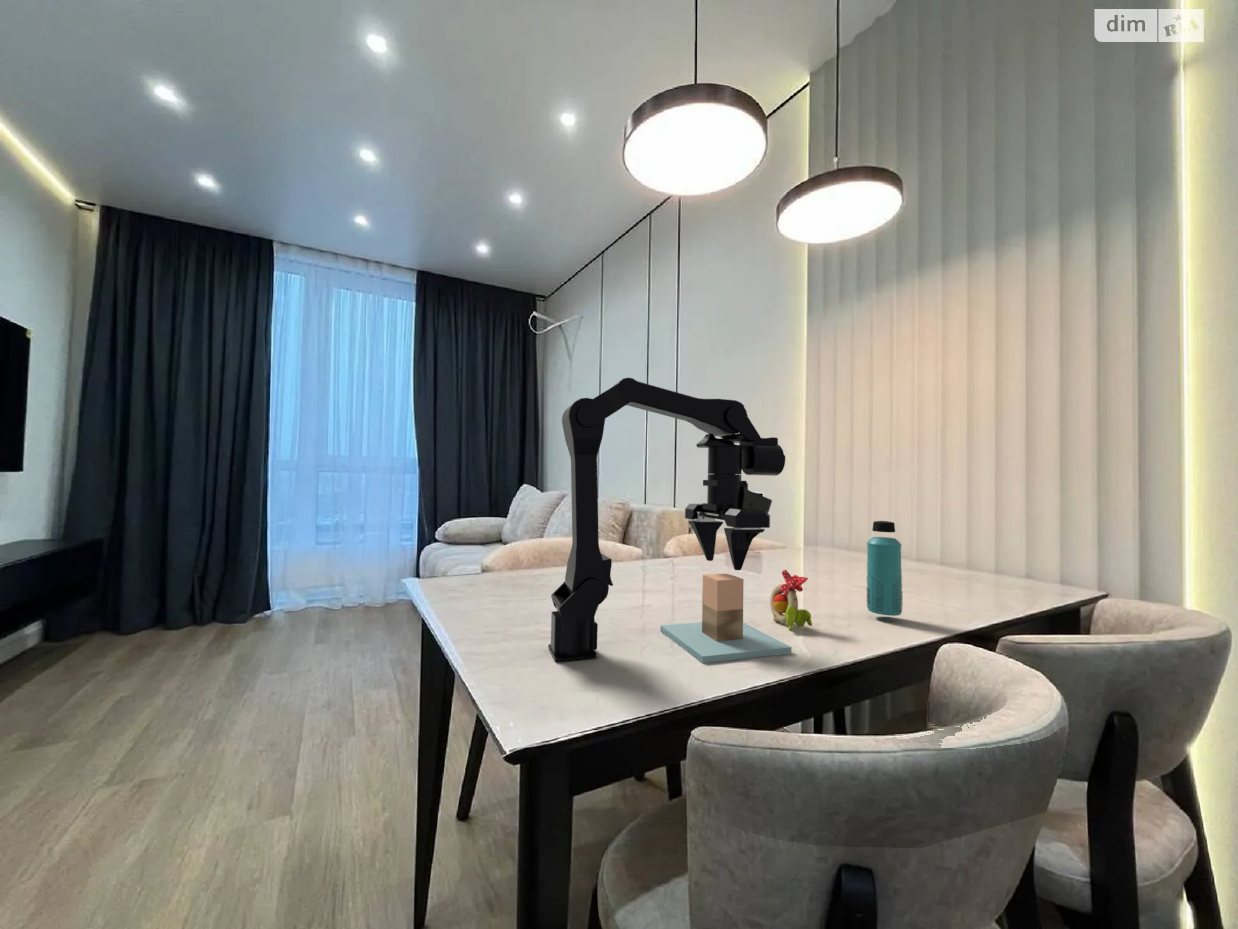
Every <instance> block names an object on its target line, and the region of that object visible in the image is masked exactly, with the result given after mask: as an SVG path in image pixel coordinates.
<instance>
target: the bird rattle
mask: <svg viewBox="0 0 1238 929" xmlns="http://www.w3.org/2000/svg"><path fill="white" fill-rule="evenodd" d="M781 575H782V576H783V579H784V581H785V583H783V584H782V583H780V584H778V585H776V586H775V587H774V588H773V589H772V591H771V594H770V598H769V603H770V604H769V605H770V610H771V613H772V615H773V616H772V617H773V622H774V623H786V626H787V627H788V631H792V629H793V626H794V625H796V627H798V628H802V627H805V624H806V623H807V625H808V626H809V627H812V626H813V622H812V614H811V612H810V611H809V610H807V609H803V608H802V609H801V608H799V600H798V595H797V592H803V590H804V588H803V587H802V585H803V584H805V583H806V581H808V579H809V578H808V577H805V576H799V575H797V574H793V575H791V574H790V572H789V571H788V570H787V569H783V570H782V571H781ZM798 608H799V609H798Z"/></svg>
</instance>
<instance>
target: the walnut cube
mask: <svg viewBox="0 0 1238 929" xmlns="http://www.w3.org/2000/svg"><path fill="white" fill-rule="evenodd" d="M701 613H702V614H701V622H702V633H704V634H705V635H707V636H709V637H710V638H712V639H713V640H715V641H716V642H717V641H728V640H738V639H743V622H744V608H743V609H736V610H723V611H716V610H714V609H712V608H710V607H708V606H706V605H704V604H702V610H701Z"/></svg>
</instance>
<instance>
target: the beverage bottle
mask: <svg viewBox="0 0 1238 929" xmlns="http://www.w3.org/2000/svg"><path fill="white" fill-rule="evenodd" d="M872 531H873V532H877V533H879V532H880V533H896V526H895V522H893V521H887V520H875V521H873V522H872ZM866 545H867V548H866V549H867V551H866V552H867V554H866V555H867V557H866V561H867V562H866V574H867V575H866V581H865V582H866V607H867V609H868V611H869V612H871V613H873V614H876V615H877V614H878V615H881V616H890V617H891V616H892V617H893V616H894V617H895V616H896V617H897V616H901V615H902V612H903V600H904V599H903V575H902V574H903V571H902V543H901V542H900V541H899V540H898V539H896V538H894V537H886V536H873V537H871V538H870V539H868V541H867V542H866Z"/></svg>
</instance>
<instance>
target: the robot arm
mask: <svg viewBox="0 0 1238 929" xmlns="http://www.w3.org/2000/svg"><path fill="white" fill-rule="evenodd" d="M625 406H628V407H632V408H635V409H640V410H642V411H647V412H651V413H655V414H658V415H663V416H666V417H669V418H673V419H677V420H681V421H684V422H687V423H690V424H692V426H694V427H695V428H697V429H698V430H699V431H702V432H704V433H706V434H705V435H704V437H703V438H702V439H701V440H700V441H698V442H697V443H696V447H697V448H698V449H699V448H701V449H708V450H707V452H708V453H707V479H703V480H702V486H705V487H707V491H706V492H707V495H706V496H707V501H706V502H707V503H705V502H704V503H689V504H688V505H687V506H686V507H685V509H684V519H688V524H690V527H691V529H692V530H693V532H694V533H693V534H695V537H696V539H697V541H698V542H699V545H700V547H701V550H702V553H703V555H704V557H705V559H706V561H708V562H712V561H713V560H714V558H715V550H716V541H717V532H718V530H719V529H720V527H722V525H723V524H724V522H725V524H726V525H725V526H726V527H724V528H723V529H724V535H725V538H726V542H727V546H728V551H729V555H730V560H731V563H732V564H731V565H732V566H733V569H734V571H741V570H742V568H743V566H744V562H745V559H746V557H747V554H748V551H749V548H750V547H751V545H752V542H753V540H754V538H756V537H757V536H758V535H759V534H760V533H764V532H765V531H766V528H770V527H771V515H770V514H769V512H770V510H771V507H772V506H771V505H772V503H773V500H772V499H771V498H768V497H766V496H763V495H761V494H759V493H756V492H754V491H751V490H749V484H748V482H747V480H742V472H743V473H744V474H745V475H747V476H770V477H771V476H774V477H775V476H779V475H780V474H781V473H782V472H783V470H784V468H785V465H786V455H785V454H784V450H783V448H782V446H781V445H780V444H779V439H778V437H774V436H773V437H761V435H760V434H759V432H758V430H757V429H756V427H755V426H754V424H753V423H752V421H751V420H750V418H749V416H748V411H747V409H746V407H745V405H744V404H743V403H742V402H740V401H738V400H735V399H724V398H698V397H695V396H691V395H688V394H684V393H680V392H676V391H674V390H670V389H667V388H663V387H660V386H656V385H653V384H648V383H645V382H642V381H638V380H636V379H635V378H632V377H625V378H624V377H623V378H622V379H620V380H619V381H617V382H616V383H615V384H614V385H613V386H612V387H610V388H609V389H607V390H605V391H604V392H601V393H600V394H599V395H597V396H595V397H593V398H590V397H584V398H583V397H582V398H579V399H577V400H575V401H574V402H572V403H571V404H570V405H569V406H568V407H566V409H565V410H564V411H563V414H562V417H561V425H562V430H563V434H564V435H563V436H564V441H565V443H566V447H567V450H568V454H569V457H570V474H571V475H570V481H571V482H570V483H571V485H570V486H571V531H572V532H571V534H572V535H571V537H572V541H571V542H572V545H571V549H570V553H569V556H568V558H567V563H566V564H567V565H566V570H565V571H566V572H565V576H564V581H563V582H562V583H561V584H560V585H559V586H558V587H557V589H556V590H554V591H553V592H552V593H551V595H550V598H551V601H552V604H553V606H554V608H555V609H556V611H551V622H550V626H551V628H550V644H547V645H548V646H547V648H548V651H549V652H550V654H551V656H552V658H553V660H554V661H555V662H565V661H574V660H575V661H576V660H587V659H595V658H597V657H598V654H597V652H596V650H598V628H599V626H598V625H599V623H597V622H596V620H595V616H596V613H597V610H598V608H599V605H601V604H602V603H603V602H604V601H605V599H607V597H608V595H609V590H610V589H609V588H610V587H613V586H614V584H613V581H612V577H611V576H612V575H611V570H612V562H613V561H612V558H610V557H608V556H607V555H605V554H603V553H602V552H601V549H600V544H599V543H600V541H599V539H600V538H599V534H600V533H599V497H598V496H599V495H598V494H599V493H598V492H599V491H598V455H599V451H600V447H601V444H602V440H603V435H604V430H605V423H606V419H607V418H608V417H610V416H612V415H614V414H615V413H616V412H618V411H619V410H621V409H623V408H625ZM717 437H719V438H717ZM609 586H610V587H609Z"/></svg>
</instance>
